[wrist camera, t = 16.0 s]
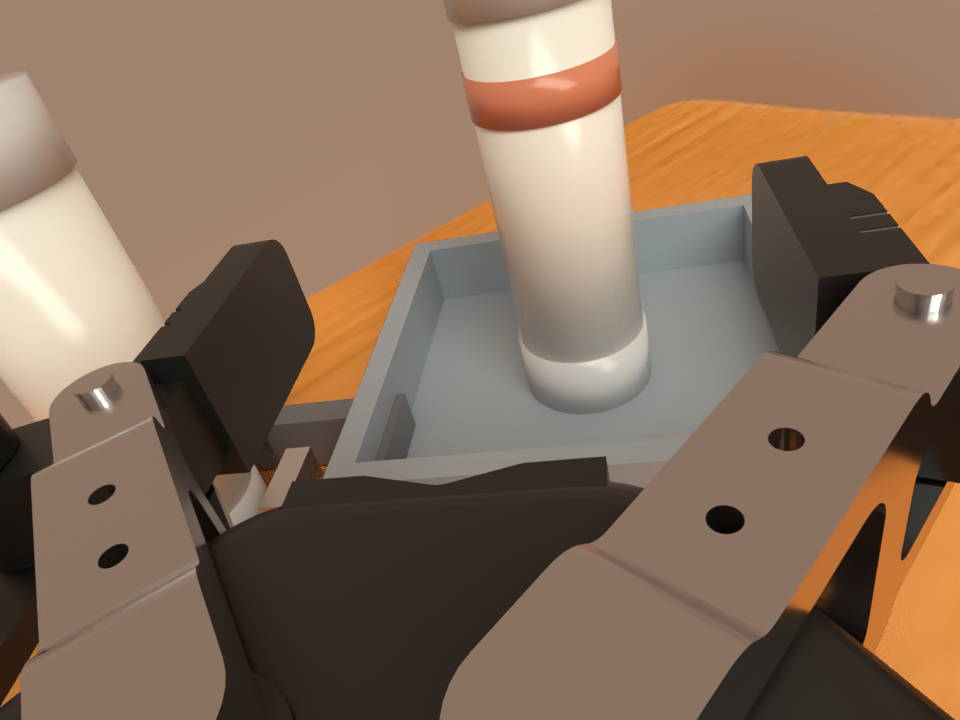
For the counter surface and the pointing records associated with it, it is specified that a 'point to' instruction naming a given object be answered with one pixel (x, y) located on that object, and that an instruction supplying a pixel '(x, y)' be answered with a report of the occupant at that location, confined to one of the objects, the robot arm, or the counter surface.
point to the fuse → (68, 276)
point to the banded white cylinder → (559, 191)
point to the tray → (501, 371)
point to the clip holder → (321, 442)
